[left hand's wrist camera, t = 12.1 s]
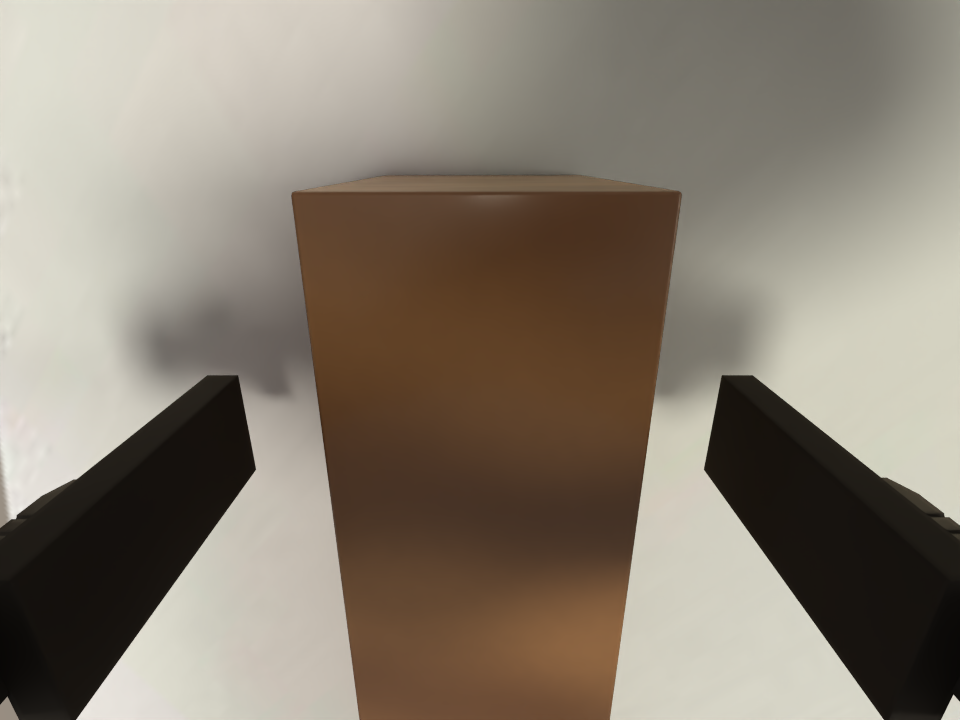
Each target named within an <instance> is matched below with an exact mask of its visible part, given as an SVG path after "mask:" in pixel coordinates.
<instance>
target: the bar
mask: <svg viewBox="0 0 960 720" xmlns="http://www.w3.org/2000/svg"><path fill="white" fill-rule="evenodd" d="M291 197H292V205H293V212H294V220H295V228H296V235H297V243H298V251H299V258H300V266H301V274H302V281H303V289H304V297H305V304H306V312H307V320H308V327H309V335H310V343H311V350H312V358H313V366H314V373H315V381H316V389H317V396H318V404H319V412H320V419H321V427H322V435H323V442H324V450H325V458H326V465H327V473H328V481H329V488H330V496H331V504H332V511H333V519H334V527H335V534H336V542H337V550H338V557H339V565H340V573H341V581H342V588H343V596H344V604H345V611H346V619H347V627H348V634H349V642H350V650H351V657H352V665H353V673H354V680H355V688H356V696H357V703H358V711H359V719H360V720H610V714H611V706H612V699H613V692H614V685H615V677H616V670H617V663H618V656H619V648H620V641H621V634H622V626H623V619H624V612H625V605H626V597H627V590H628V583H629V576H630V568H631V561H632V554H633V546H634V539H635V532H636V525H637V517H638V510H639V503H640V496H641V488H642V481H643V474H644V466H645V459H646V452H647V445H648V437H649V430H650V423H651V416H652V408H653V401H654V394H655V386H656V379H657V372H658V365H659V357H660V350H661V343H662V335H663V328H664V321H665V314H666V306H667V299H668V292H669V285H670V277H671V270H672V263H673V255H674V248H675V241H676V234H677V226H678V219H679V212H680V205H681V197H682V194H681V192H679V191H675V190H668V189H662V188H656V187H650V186H644V185H638V184H632V183H625V182H619V181H613V180H607V179H601V178H595V177H588V176H582V175H385V176H380V177H374V178H368V179H363V180H357V181H351V182H346V183H340V184H334V185H329V186H323V187H317V188H312V189H306V190H301V191H295V192H293V193H292V195H291Z"/></svg>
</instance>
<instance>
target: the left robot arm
mask: <svg viewBox="0 0 960 720" xmlns="http://www.w3.org/2000/svg"><path fill="white" fill-rule="evenodd" d="M255 470H256V467H255V462H254V457H253V451H252V446H251V441H250V436H249V430H248V425H247V420H246V414H245V409H244V404H243V399H242V393H241V388H240V383H239V378H238V375H207V376H206V377H205V378H204V379H202V380H201V381H200V382H199V383H197V384H196V385H195V386H194V387H192V388H191V389H190V390H189V391H187V392H186V393H185V394H183V395H182V396H181V397H180V398H178V399H177V400H176V401H175V402H173V403H172V404H171V405H170V406H168V407H167V408H166V409H165V410H163V411H162V412H161V413H160V414H158V415H157V416H156V417H155V418H153V419H152V420H151V421H150V422H148V423H147V424H146V425H145V426H143V427H142V428H141V429H140V430H138V431H137V432H136V433H135V434H133V435H132V436H131V437H130V438H128V439H127V440H126V441H124V442H123V443H122V444H121V445H119V446H118V447H117V448H116V449H114V450H113V451H112V452H111V453H109V454H108V455H107V456H106V457H104V458H103V459H102V460H101V461H99V462H98V463H97V464H96V465H94V466H93V467H92V468H91V469H89V470H88V471H87V472H86V473H84V474H83V475H82V476H81V477H79V478H78V479H77V480H72V481H70V482H68V483H66V484H64V485H62V486H60V487H58V488H57V489H55V490H53V491H51V492H49V493H47V494H45V495H43V496H41V497H40V498H39V499H37V500H36V501H35V502H33V503H32V504H31V505H30V506H28V507H27V508H26V509H24V510H23V511H22V512H21V513H19V514H18V515H17V518H16V519H11V520H10V521H9V522H8V523H6V524H5V525H4V526H2V527H1V528H0V704H1V703H2V702H3V701H4V700H5V698H6V697H7V696H8V698H9V700H10V702H11V704H12V706H13V708H14V710H15V712H16V714H17V716H18V718H19V720H76V719H77V718H78V716H79V715H80V713H81V712H82V711H83V709H84V708H85V706H86V705H87V704H88V702H89V701H90V700H91V698H92V697H93V695H94V694H95V693H96V691H97V690H98V688H99V687H100V686H101V684H102V683H103V681H104V680H105V679H106V677H107V676H108V674H109V673H110V672H111V670H112V669H113V668H114V666H115V665H116V663H117V662H118V661H119V659H120V658H121V656H122V655H123V654H124V652H125V651H126V649H127V648H128V647H129V645H130V644H131V643H132V641H133V640H134V638H135V637H136V636H137V634H138V633H139V631H140V630H141V629H142V627H143V626H144V624H145V623H146V622H147V620H148V619H149V618H150V616H151V615H152V613H153V612H154V611H155V609H156V608H157V606H158V605H159V604H160V602H161V601H162V599H163V598H164V597H165V595H166V594H167V593H168V591H169V590H170V588H171V587H172V586H173V584H174V583H175V581H176V580H177V579H178V577H179V576H180V574H181V573H182V572H183V570H184V569H185V567H186V566H187V565H188V563H189V562H190V561H191V559H192V558H193V556H194V555H195V554H196V552H197V551H198V549H199V548H200V547H201V545H202V544H203V542H204V541H205V540H206V538H207V537H208V536H209V534H210V533H211V531H212V530H213V529H214V527H215V526H216V524H217V523H218V522H219V520H220V519H221V517H222V516H223V515H224V513H225V512H226V511H227V509H228V508H229V506H230V505H231V504H232V502H233V501H234V499H235V498H236V497H237V495H238V494H239V492H240V491H241V490H242V488H243V487H244V486H245V484H246V483H247V481H248V480H249V479H250V477H251V476H252V474H253V473H254V472H255ZM704 470H705V472H706V473H707V474H708V476H709V477H710V479H711V480H712V481H713V483H714V484H715V486H716V487H717V488H718V490H719V491H720V492H721V494H722V495H723V497H724V498H725V499H726V501H727V502H728V504H729V505H730V506H731V508H732V509H733V511H734V512H735V513H736V515H737V516H738V517H739V519H740V520H741V522H742V523H743V524H744V526H745V527H746V529H747V530H748V531H749V533H750V534H751V536H752V537H753V538H754V540H755V541H756V543H757V544H758V545H759V547H760V548H761V549H762V551H763V552H764V554H765V555H766V556H767V558H768V559H769V561H770V562H771V563H772V565H773V566H774V568H775V569H776V570H777V572H778V573H779V574H780V576H781V577H782V579H783V580H784V581H785V583H786V584H787V586H788V587H789V588H790V590H791V591H792V593H793V594H794V595H795V597H796V598H797V599H798V601H799V602H800V604H801V605H802V606H803V608H804V609H805V611H806V612H807V613H808V615H809V616H810V618H811V619H812V620H813V622H814V623H815V624H816V626H817V627H818V629H819V630H820V631H821V633H822V634H823V636H824V637H825V638H826V640H827V641H828V643H829V644H830V645H831V647H832V648H833V649H834V651H835V652H836V654H837V655H838V656H839V658H840V659H841V661H842V662H843V663H844V665H845V666H846V668H847V669H848V670H849V672H850V673H851V675H852V676H853V677H854V679H855V680H856V681H857V683H858V684H859V686H860V687H861V688H862V690H863V691H864V693H865V694H866V695H867V697H868V698H869V700H870V701H871V702H872V704H873V705H874V706H875V708H876V709H877V711H878V712H879V713H880V715H881V716H882V718H883V719H884V720H941V718H942V716H943V714H944V712H945V710H946V708H947V706H948V704H949V702H950V700H951V698H952V696H953V694H954V695H955V697H956V698H957V699H958V700H959V701H960V525H958V524H957V523H956V522H955V521H953V520H952V519H951V518H949V517H944V513H943V512H941V511H940V510H939V509H938V508H936V507H935V506H934V505H932V504H931V503H930V502H928V501H927V500H926V499H924V498H923V497H922V496H921V495H919V494H918V493H916V492H914V491H912V490H910V489H908V488H906V487H904V486H902V485H900V484H898V483H896V482H894V481H892V480H890V479H888V478H881V477H879V476H878V475H877V474H876V473H874V472H873V471H872V470H871V469H869V468H868V467H867V466H866V465H864V464H863V463H862V462H861V461H859V460H858V459H857V458H856V457H854V456H853V455H852V454H851V453H849V452H848V451H847V450H846V449H844V448H843V447H842V446H841V445H839V444H838V443H837V442H836V441H834V440H833V439H832V438H830V437H829V436H828V435H827V434H825V433H824V432H823V431H822V430H820V429H819V428H818V427H817V426H815V425H814V424H813V423H812V422H810V421H809V420H808V419H807V418H805V417H804V416H803V415H802V414H800V413H799V412H798V411H797V410H795V409H794V408H793V407H792V406H790V405H789V404H788V403H787V402H785V401H784V400H783V399H782V398H780V397H779V396H778V395H777V394H775V393H774V392H773V391H771V390H770V389H769V388H768V387H766V386H765V385H764V384H763V383H761V382H760V381H759V380H758V379H756V378H755V377H754V376H753V375H722V378H721V383H720V388H719V393H718V399H717V404H716V409H715V414H714V420H713V425H712V430H711V436H710V441H709V446H708V451H707V457H706V462H705V467H704Z"/></svg>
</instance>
